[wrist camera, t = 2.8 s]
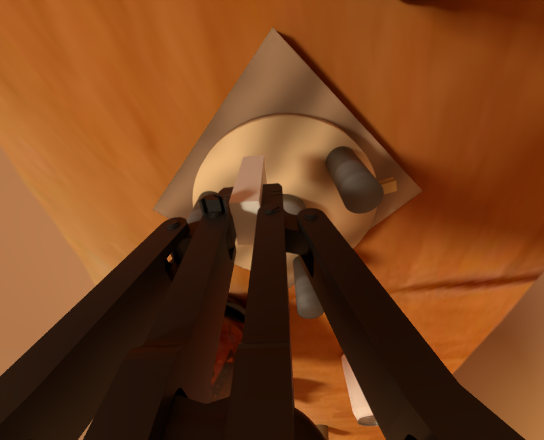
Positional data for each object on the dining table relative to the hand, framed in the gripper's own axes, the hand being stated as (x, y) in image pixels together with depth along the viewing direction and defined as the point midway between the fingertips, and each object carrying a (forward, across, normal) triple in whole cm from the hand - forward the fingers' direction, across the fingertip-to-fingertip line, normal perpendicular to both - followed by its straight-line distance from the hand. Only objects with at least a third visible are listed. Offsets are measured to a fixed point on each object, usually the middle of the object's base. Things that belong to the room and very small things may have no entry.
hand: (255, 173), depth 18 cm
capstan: (+7, +2, -7) cm, 11 cm away
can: (+11, +16, -51) cm, 55 cm away
